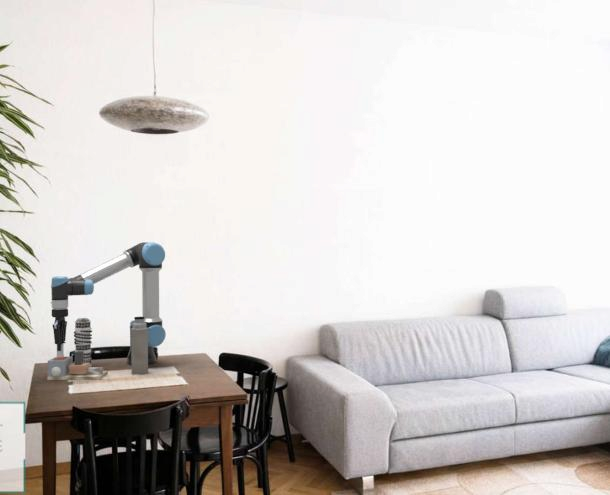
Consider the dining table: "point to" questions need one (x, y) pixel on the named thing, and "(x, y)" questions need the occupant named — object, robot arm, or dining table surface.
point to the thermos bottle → (139, 346)
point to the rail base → (84, 375)
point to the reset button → (60, 358)
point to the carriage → (78, 364)
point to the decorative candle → (83, 338)
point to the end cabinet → (59, 367)
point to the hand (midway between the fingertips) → (60, 357)
